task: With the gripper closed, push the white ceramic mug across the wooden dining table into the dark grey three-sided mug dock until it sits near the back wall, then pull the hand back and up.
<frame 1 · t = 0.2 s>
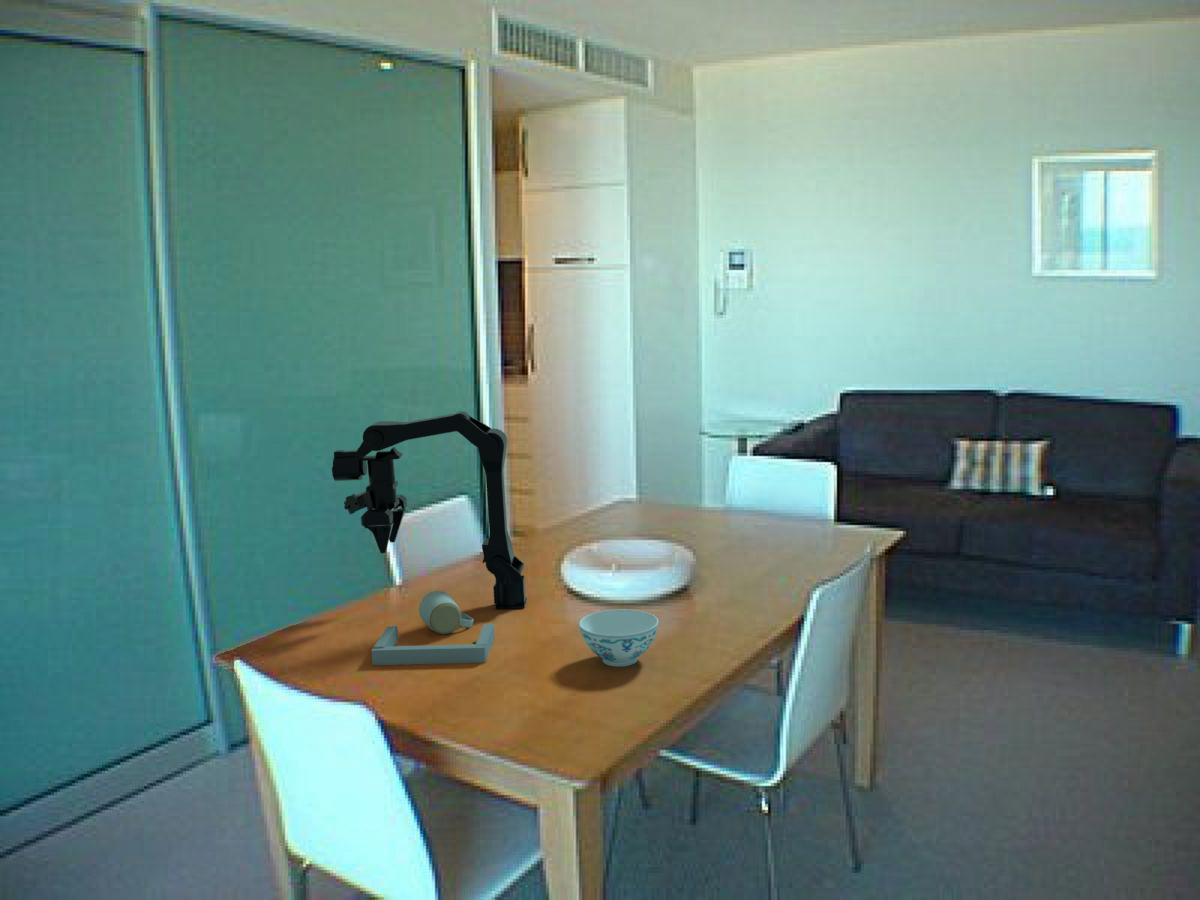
hand: (387, 547, 242), 14 cm above the table, tool pointing down, fingers open, 9 cm apart
chinaware: (620, 661, 207), on the table
mug dock: (436, 650, 217), on the table
ceramic mug: (447, 629, 230), on the table
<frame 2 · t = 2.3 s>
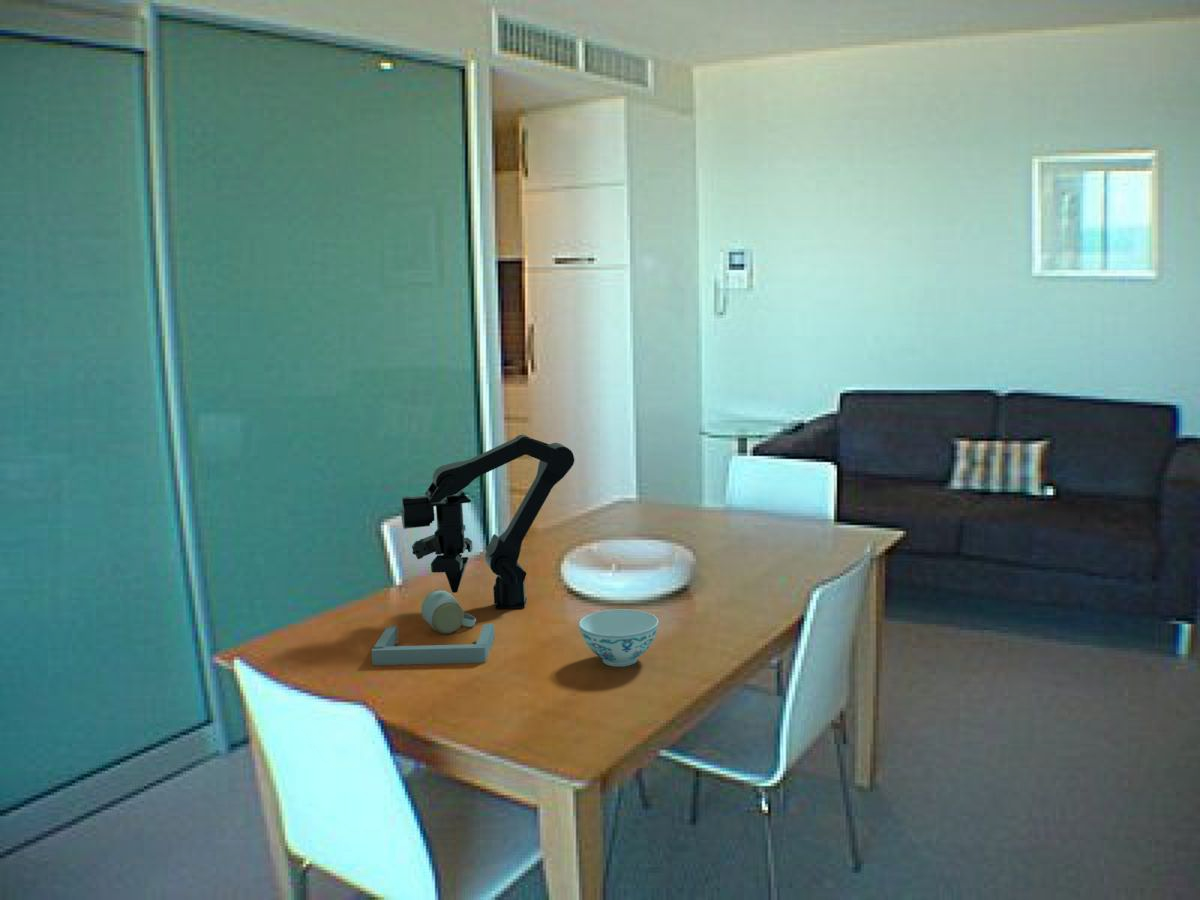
hand: (454, 592, 240), 4 cm above the table, tool pointing down, fingers closed
nothing on the table moved.
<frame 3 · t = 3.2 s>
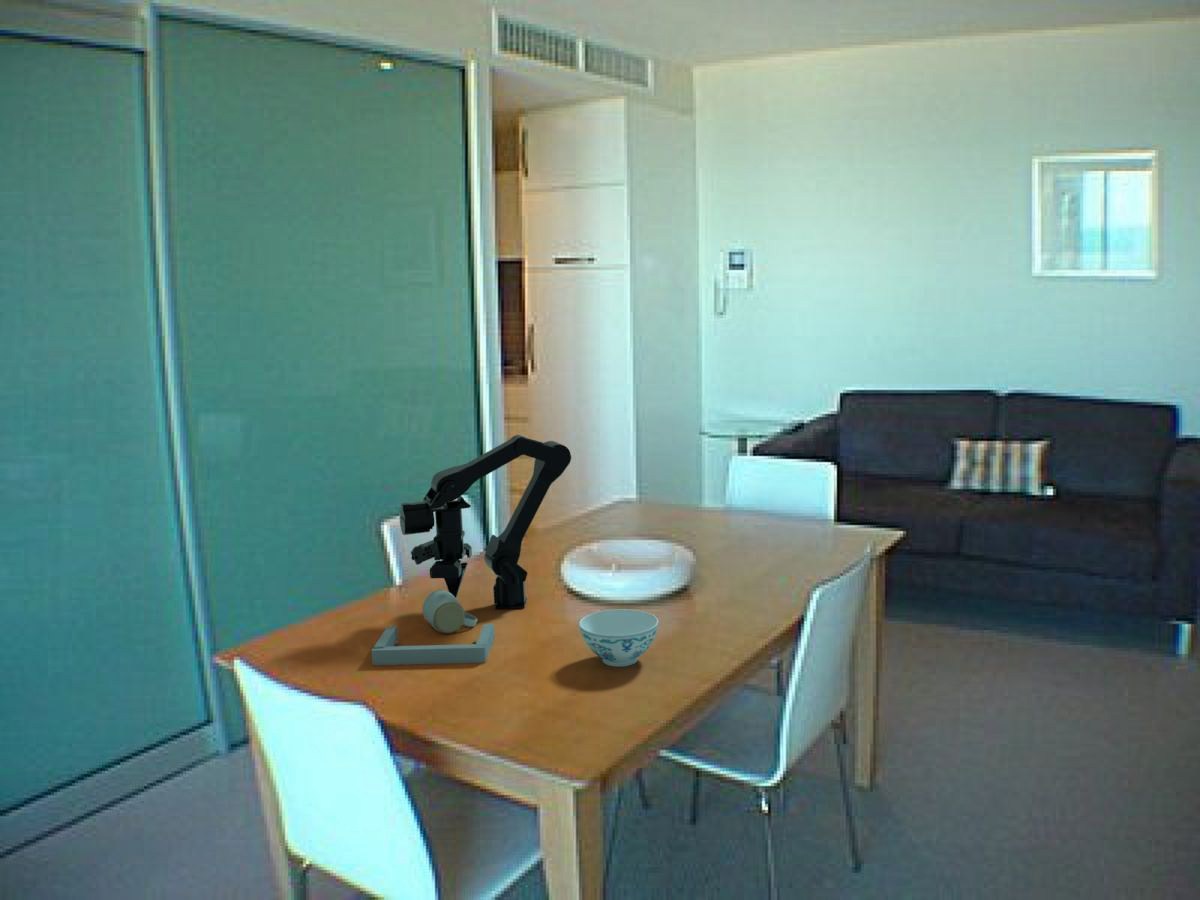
hand: (453, 598, 239), 4 cm above the table, tool pointing down, fingers closed
nothing on the table moved.
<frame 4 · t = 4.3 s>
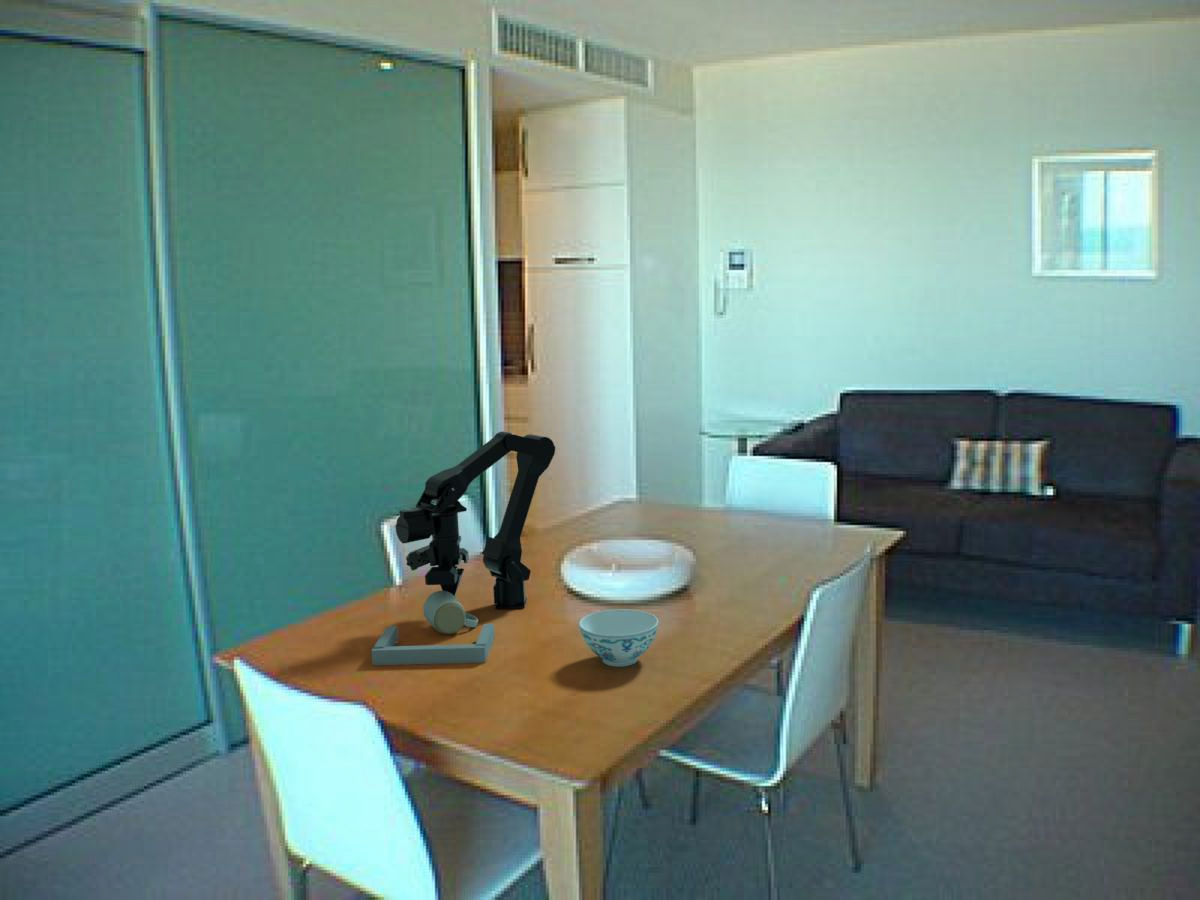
hand: (450, 604, 234), 4 cm above the table, tool pointing down, fingers closed
ceramic mug: (452, 629, 229), on the table, touching gripper
everything else where it was.
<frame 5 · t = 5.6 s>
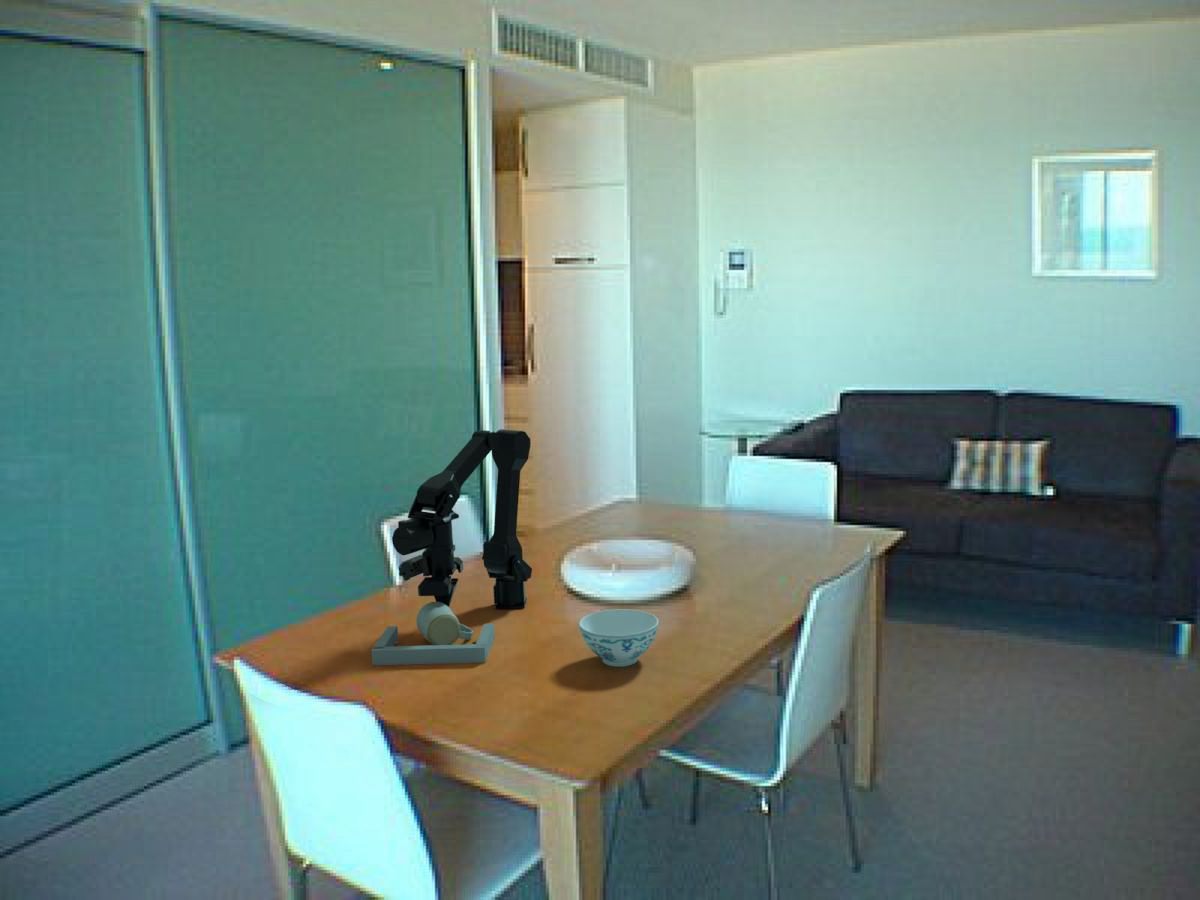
hand: (443, 615, 226), 4 cm above the table, tool pointing down, fingers closed
ceramic mug: (446, 642, 222), on the table, touching gripper
everything else where it was.
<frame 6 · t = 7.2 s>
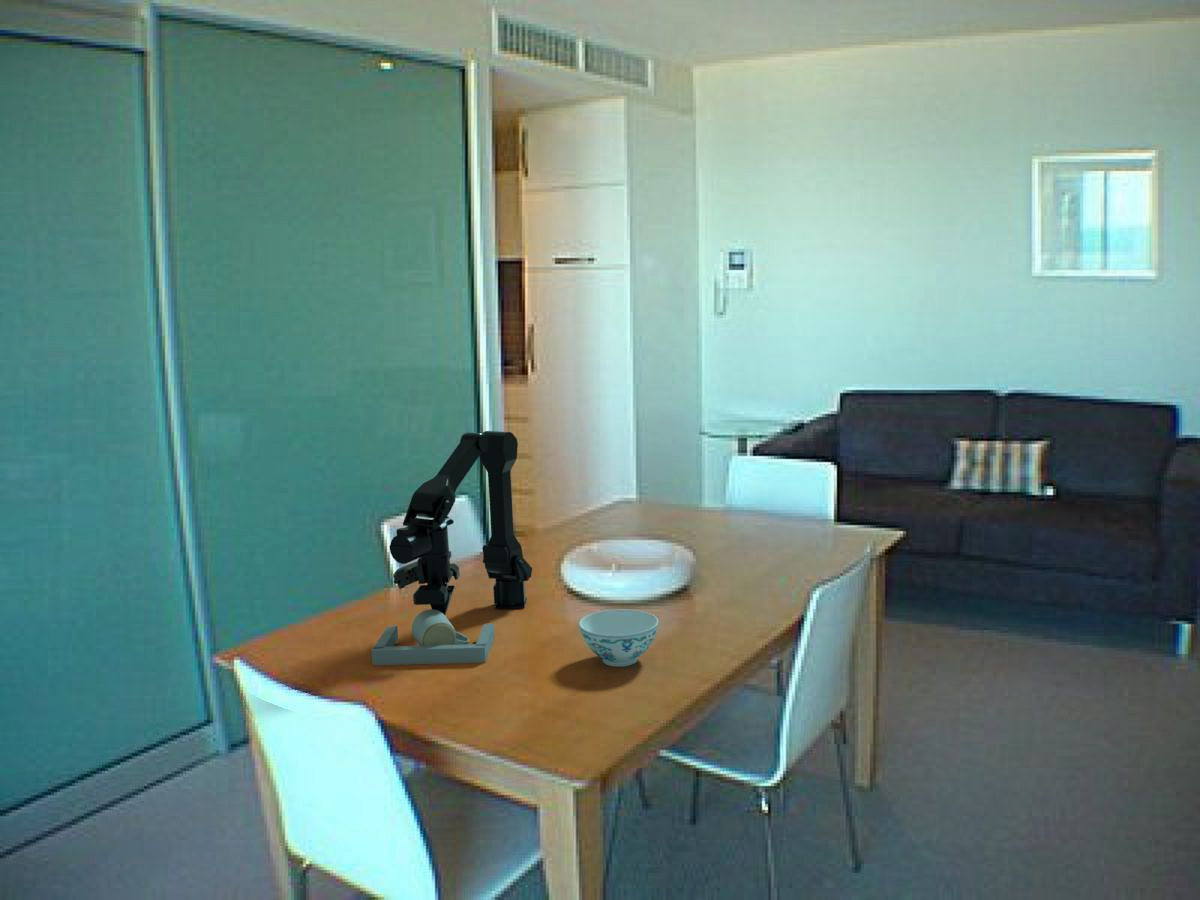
hand: (440, 623, 222), 4 cm above the table, tool pointing down, fingers closed
ceramic mug: (442, 650, 217), on the table, touching gripper, mug dock
everything else where it was.
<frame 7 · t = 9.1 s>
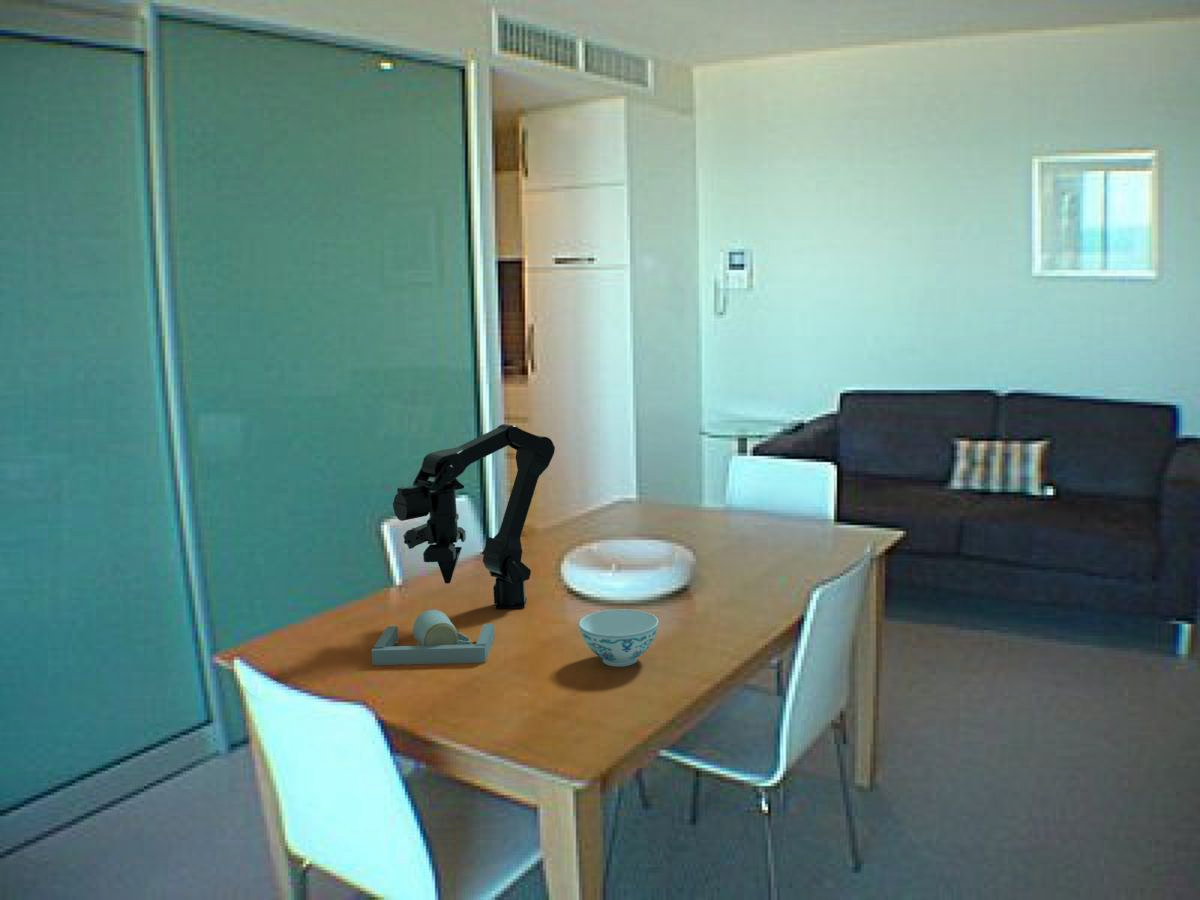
hand: (447, 583, 232), 9 cm above the table, tool pointing down, fingers closed
ceramic mug: (443, 650, 217), on the table
everything else where it was.
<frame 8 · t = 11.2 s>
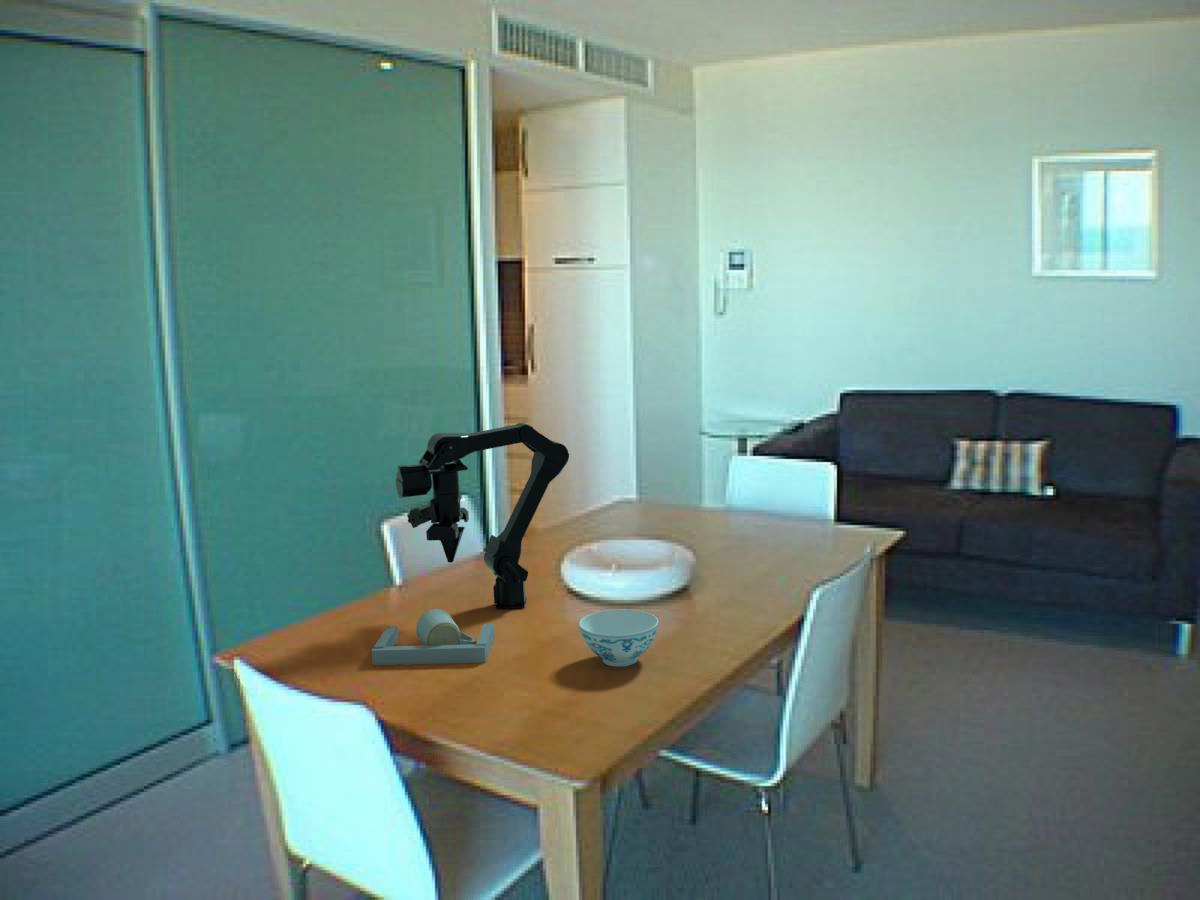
hand: (450, 562, 236), 12 cm above the table, tool pointing down, fingers closed
nothing on the table moved.
at the end: ceramic mug inside the target area on the mug dock (2.2 cm from its centre), point 0.0 cm above the mug dock's base; ceramic mug tilted 0° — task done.
